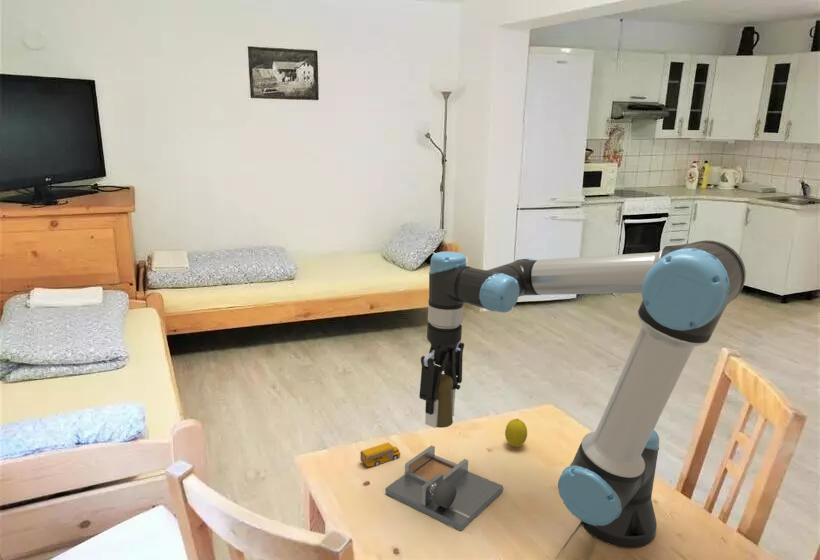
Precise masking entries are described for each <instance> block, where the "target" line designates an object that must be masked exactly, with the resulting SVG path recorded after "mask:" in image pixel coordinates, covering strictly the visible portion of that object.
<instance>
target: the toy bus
mask: <svg viewBox="0 0 820 560" xmlns="http://www.w3.org/2000/svg"><path fill="white" fill-rule="evenodd" d="M400 457H401V452H400V449H399V448H398V447H397V446H393V445H392V444H391V443H390V442H385V443H383V444H382V443H381V444H379V445H376V446H372V447H370V448H366V449H362V450H361V451H360V461H361V462H362V464H363V465H365V467H374V466H375V467H377V466H379V465H381V464H384V463H388V462H389V461H392V460H394V461H395V460H397V459H399V458H400Z"/></svg>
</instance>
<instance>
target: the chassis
mask: <svg viewBox="0 0 820 560" xmlns="http://www.w3.org/2000/svg"><path fill="white" fill-rule="evenodd" d="M435 452H436V446H434V445H430V446H428V447H427V448H426V449H424V450H423V451H421V452H420V453H418V454H417V455H415V456H414V457H413V458H411V459H410V460H408V461H407V462H406V463H405V464H404V474H403V475H402V476H401V477H399V478H398V479H396V480H395V481H393V482H392V483H390V484H389V485H387V487H385V488H384V489H385V492H384V493H385V495H386V496H389V497H390V498H392V499H394V500H396V501H398V502H401V503H403V504H404V505H407V506H409V507H411V508H413V509H415V510H417V511H419V512H421V513H423V514H425V515H427V516H429V517H431V518H433V519H435V520H438V521H439V522H441V523H443V524H445V525H448V526H450V527H452V528H454V529H456V530H458V531H460V532H462V531H463V530H464V529H465V528H466V527H467V526H468V525H470V524H471V522H473V520H474V519H476V518H477V517H478V516H479V515H480V514H481V513H482V512H483V511H484V510H485V509H486V508H487V507H488V506H489V505H491V504H492V502H493V501H494V500H496V499H497V498H498V496H500V495H501V494H502V493H503V492H504V486H503V485H502V484H500V483H498V482H495V481H493V480H490V479H488V478H486V477H483V476H480V475H478V474H476V473H473V472H471V471H469V460H468V459H466V458H463V459H462V460H461V461H460V462H459V463H456V462H453V461H450V460H448V459H446V458H443V457H441V456H438V455H436V454H435ZM442 481H446V482H448V483H450V484H453V485H455V486H456V496H455V499H454V501H453V503H452V505H451V506H450V507H449V508H444V507H441V506H439V505H437V504H435V502H434V493H435V490H436V488H437V486H438V485H439V483H440V482H442Z"/></svg>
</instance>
